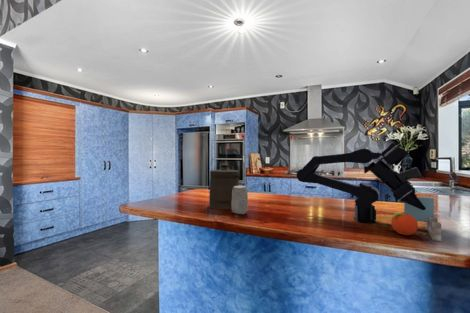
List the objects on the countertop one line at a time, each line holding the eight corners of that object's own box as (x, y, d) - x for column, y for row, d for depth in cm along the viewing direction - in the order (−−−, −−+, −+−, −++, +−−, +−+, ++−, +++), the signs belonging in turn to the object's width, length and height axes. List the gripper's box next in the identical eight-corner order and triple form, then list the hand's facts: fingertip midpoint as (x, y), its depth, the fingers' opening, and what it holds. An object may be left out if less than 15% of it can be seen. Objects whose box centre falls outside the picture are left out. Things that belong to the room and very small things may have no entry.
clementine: (397, 238, 70) (397, 215, 70) (383, 231, 77) (383, 210, 77) (423, 238, 70) (423, 215, 70) (406, 231, 77) (406, 210, 77)
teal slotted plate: (404, 227, 81) (404, 196, 81) (404, 225, 83) (404, 195, 83) (433, 231, 77) (433, 198, 77) (432, 229, 79) (432, 197, 79)
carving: (250, 214, 100) (251, 186, 100) (236, 216, 95) (236, 187, 96) (242, 211, 105) (242, 185, 105) (228, 213, 101) (228, 186, 101)
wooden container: (244, 205, 117) (244, 162, 117) (227, 211, 104) (228, 163, 105) (220, 202, 125) (221, 162, 125) (203, 207, 112) (203, 162, 113)
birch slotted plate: (432, 240, 69) (432, 223, 69) (428, 231, 77) (428, 216, 77) (441, 241, 68) (441, 224, 68) (436, 232, 76) (436, 217, 76)
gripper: (405, 159, 75) (451, 196, 68) (403, 159, 90) (440, 189, 84) (377, 181, 79) (417, 218, 73) (380, 177, 94) (413, 208, 88)
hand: (423, 207), depth 79 cm, fingers open, 8 cm apart
